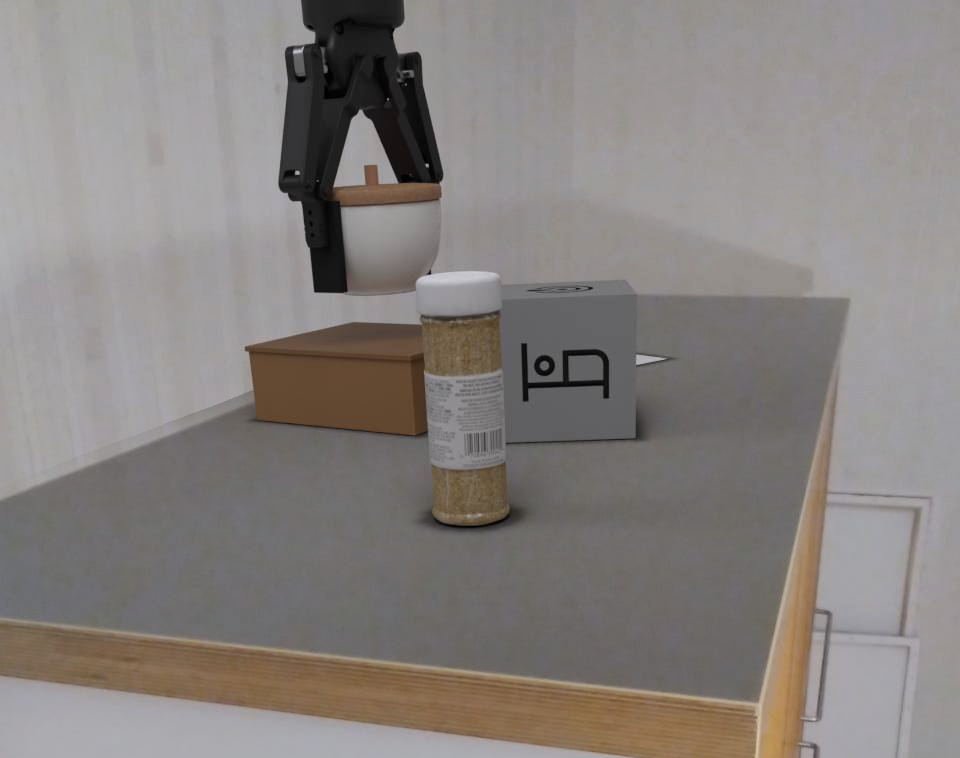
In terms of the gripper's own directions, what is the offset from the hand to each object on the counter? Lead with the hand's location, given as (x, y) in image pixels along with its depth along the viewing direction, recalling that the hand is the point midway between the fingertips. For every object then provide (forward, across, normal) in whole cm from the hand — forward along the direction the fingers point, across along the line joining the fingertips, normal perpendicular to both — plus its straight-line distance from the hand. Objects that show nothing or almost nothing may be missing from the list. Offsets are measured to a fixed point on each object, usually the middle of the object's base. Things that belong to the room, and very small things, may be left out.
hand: (375, 284), depth 90 cm
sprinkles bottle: (+10, -23, -23) cm, 34 cm away
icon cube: (+10, 0, -17) cm, 20 cm away
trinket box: (+1, 0, 0) cm, 1 cm away
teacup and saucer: (+10, +24, 0) cm, 26 cm away
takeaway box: (+10, 0, 0) cm, 10 cm away
